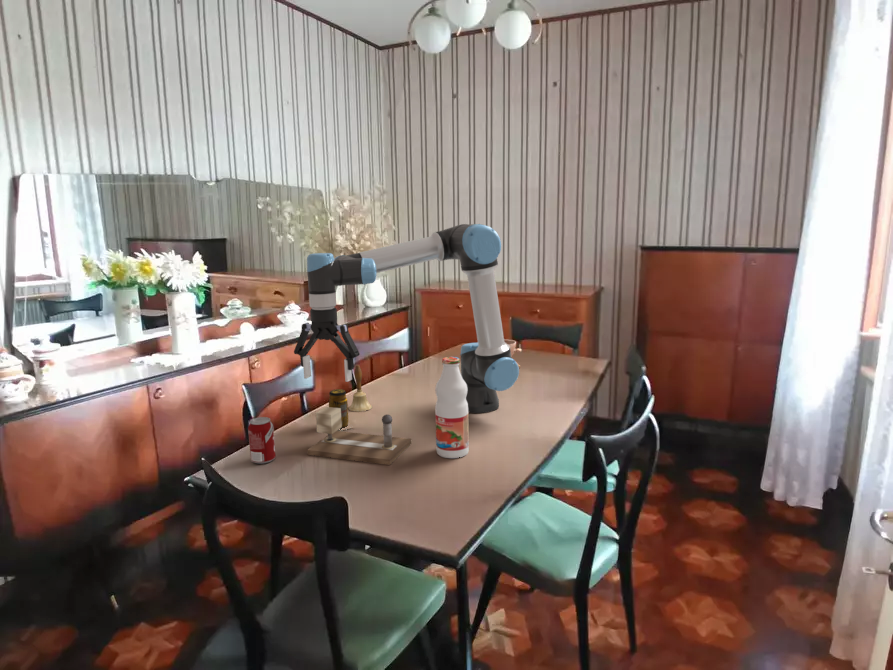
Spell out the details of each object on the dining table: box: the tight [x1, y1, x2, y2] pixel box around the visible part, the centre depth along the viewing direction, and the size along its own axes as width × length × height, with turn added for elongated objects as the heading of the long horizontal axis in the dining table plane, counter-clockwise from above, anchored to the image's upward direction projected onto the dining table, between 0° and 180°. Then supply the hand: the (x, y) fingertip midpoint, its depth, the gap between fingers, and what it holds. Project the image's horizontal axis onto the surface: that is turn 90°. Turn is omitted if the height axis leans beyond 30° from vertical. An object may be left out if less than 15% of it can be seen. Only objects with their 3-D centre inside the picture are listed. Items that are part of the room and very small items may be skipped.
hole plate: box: [306, 414, 412, 466], centre depth 173 cm, size 26×16×12 cm, turn 72°
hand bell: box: [348, 364, 373, 413], centre depth 209 cm, size 8×8×16 cm
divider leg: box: [315, 406, 342, 439], centre depth 176 cm, size 5×6×9 cm
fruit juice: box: [434, 356, 470, 459], centre depth 167 cm, size 9×9×28 cm
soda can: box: [247, 416, 277, 465], centre depth 166 cm, size 7×7×12 cm
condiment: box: [328, 388, 351, 432], centre depth 191 cm, size 7×8×12 cm
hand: (328, 379), depth 173 cm, fingers open, 13 cm apart
